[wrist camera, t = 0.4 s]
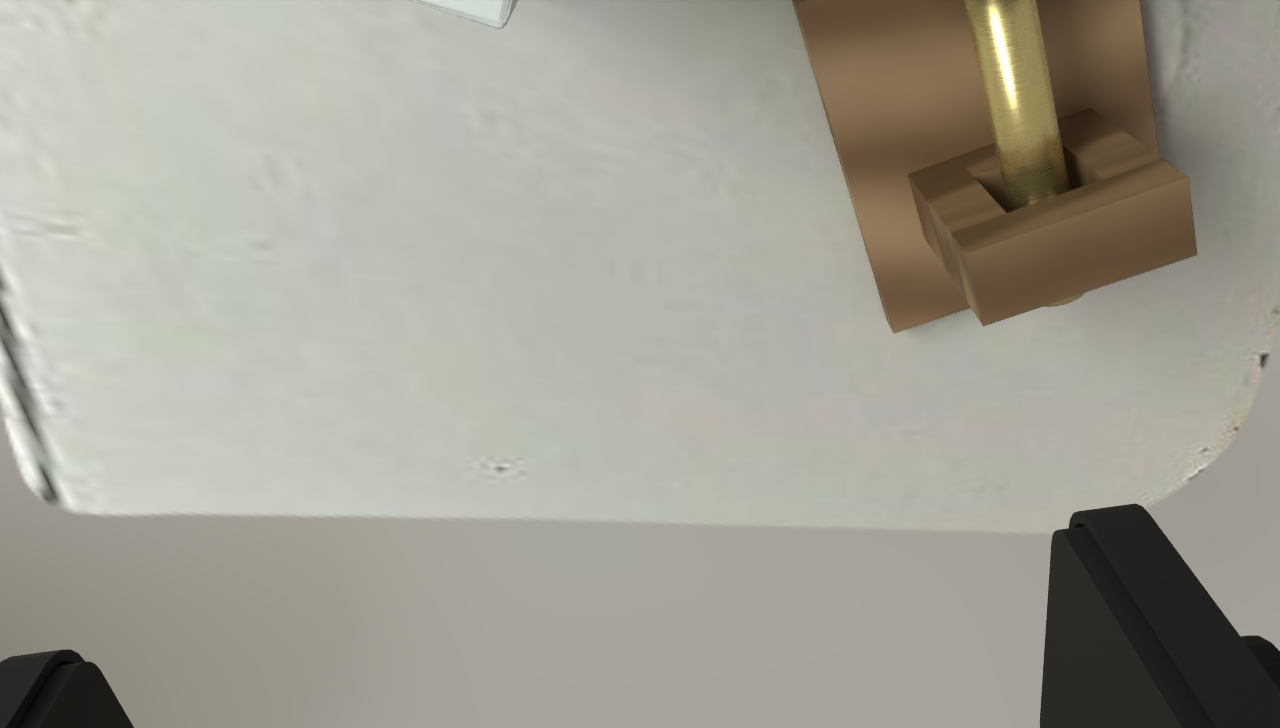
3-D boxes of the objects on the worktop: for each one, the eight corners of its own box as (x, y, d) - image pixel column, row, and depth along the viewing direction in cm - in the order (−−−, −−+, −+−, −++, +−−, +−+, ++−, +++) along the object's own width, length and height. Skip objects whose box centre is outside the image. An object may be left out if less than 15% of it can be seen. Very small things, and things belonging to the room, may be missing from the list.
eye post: (791, -3, 39) (837, 55, 31) (1108, -129, 37) (1242, -100, 29) (887, 320, 46) (944, 433, 38) (1156, 229, 44) (1273, 328, 36)
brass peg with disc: (833, -127, 35) (882, -104, 29) (1040, -213, 34) (1137, -208, 28) (939, 281, 43) (995, 367, 37) (1110, 222, 42) (1196, 301, 36)
